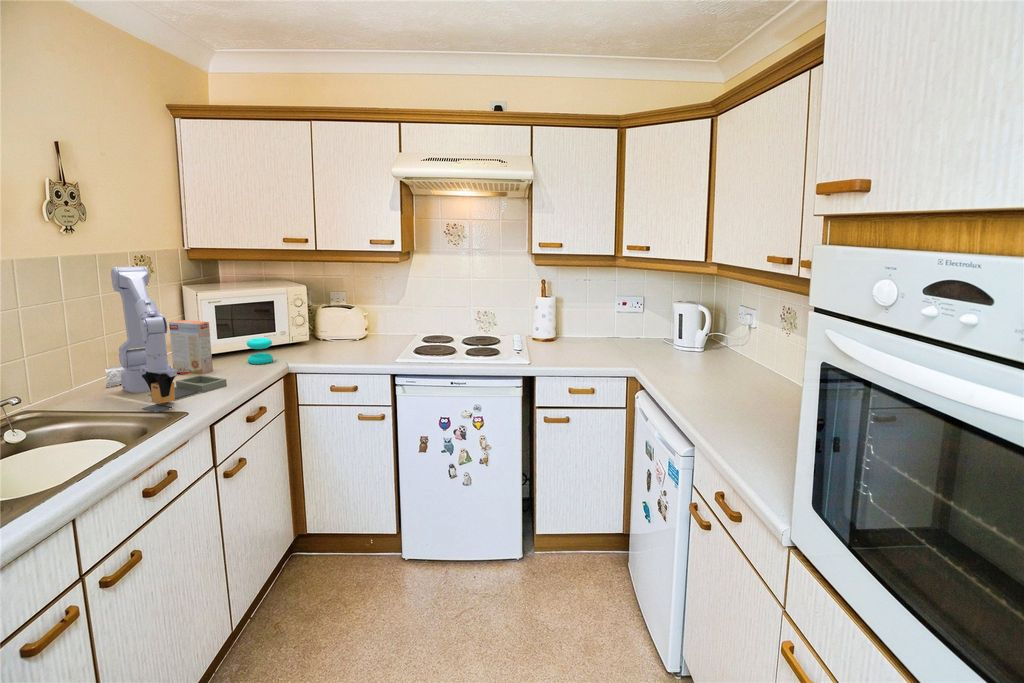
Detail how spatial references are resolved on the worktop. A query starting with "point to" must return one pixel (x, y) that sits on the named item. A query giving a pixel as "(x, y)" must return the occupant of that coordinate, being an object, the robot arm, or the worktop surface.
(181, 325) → the cracker box
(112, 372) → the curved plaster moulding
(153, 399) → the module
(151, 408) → the mat
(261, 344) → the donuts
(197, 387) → the grey-green tray
